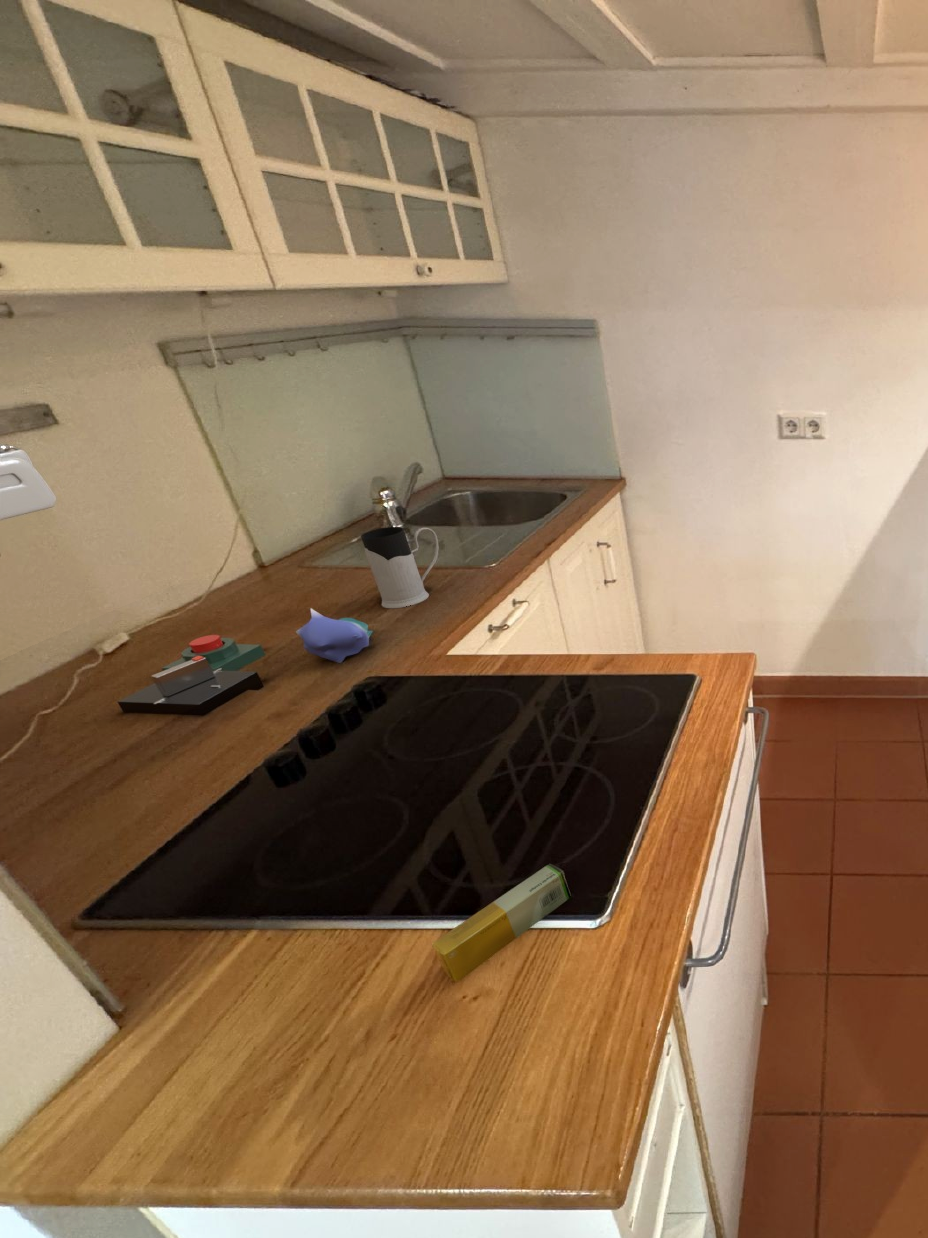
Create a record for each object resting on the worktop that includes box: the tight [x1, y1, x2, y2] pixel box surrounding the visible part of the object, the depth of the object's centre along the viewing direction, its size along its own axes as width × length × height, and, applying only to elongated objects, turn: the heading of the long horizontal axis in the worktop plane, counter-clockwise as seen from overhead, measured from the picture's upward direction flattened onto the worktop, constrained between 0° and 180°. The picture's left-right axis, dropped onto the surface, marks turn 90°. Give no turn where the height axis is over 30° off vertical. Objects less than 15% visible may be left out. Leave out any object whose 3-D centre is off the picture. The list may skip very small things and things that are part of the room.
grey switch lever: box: [151, 656, 215, 697], centre depth 106 cm, size 6×2×4 cm, turn 159°
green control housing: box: [161, 637, 266, 671], centre depth 118 cm, size 10×9×4 cm
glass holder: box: [360, 526, 440, 609], centre depth 143 cm, size 9×14×15 cm, turn 146°
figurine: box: [295, 608, 374, 664], centre depth 120 cm, size 13×12×9 cm
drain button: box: [188, 634, 223, 653], centre depth 117 cm, size 4×4×2 cm
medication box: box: [431, 863, 572, 983], centre depth 65 cm, size 12×3×4 cm, turn 144°
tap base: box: [117, 668, 265, 717], centre depth 108 cm, size 14×11×3 cm
